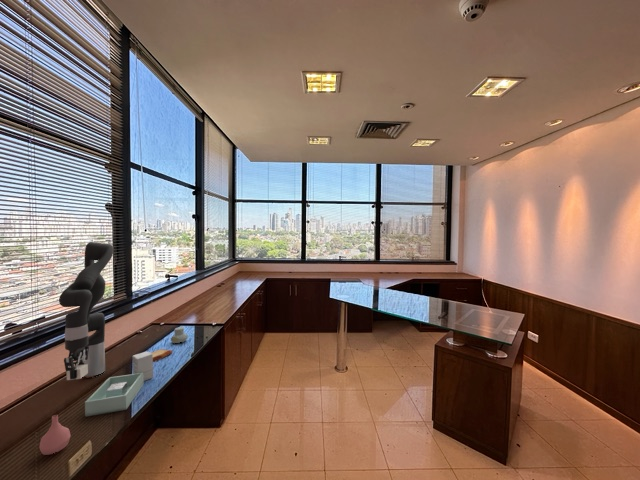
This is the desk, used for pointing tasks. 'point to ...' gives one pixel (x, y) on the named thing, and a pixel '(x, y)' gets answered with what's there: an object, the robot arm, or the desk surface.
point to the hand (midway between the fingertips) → (77, 375)
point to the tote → (116, 403)
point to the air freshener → (179, 335)
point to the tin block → (116, 389)
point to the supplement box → (143, 364)
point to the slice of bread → (160, 354)
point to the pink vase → (55, 438)
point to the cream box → (79, 371)
